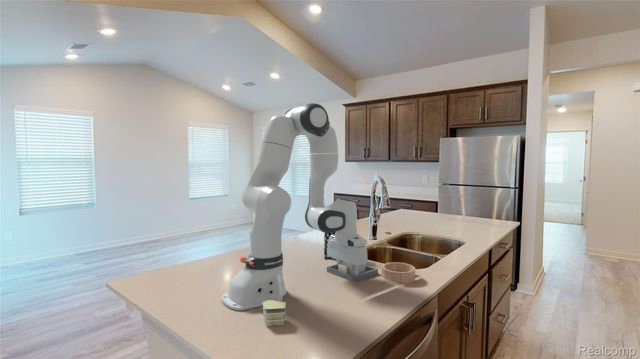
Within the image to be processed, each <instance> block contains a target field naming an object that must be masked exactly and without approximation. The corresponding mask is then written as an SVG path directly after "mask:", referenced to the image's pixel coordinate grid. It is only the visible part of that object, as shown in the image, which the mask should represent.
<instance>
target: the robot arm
mask: <svg viewBox="0 0 640 359" xmlns="http://www.w3.org/2000/svg"><path fill="white" fill-rule="evenodd" d="M297 136H306V138H307V140H308V144H309V186H308V187H309V188H308V190H309V191H308V205H307V208H306V210H305V213H304V220H305V222H306V225H307V226H308V227H310V228H311V229H313V230H316V231H319V232H322V233H323V234H324V233H332V232H335V236H334V235H331V236H330V237H329V241H328V246H327V255H328V256H329V257H332V258H335V259H334V260H336V261H335V262H336V264H338V265H339V264H342V263H343V262H347V263H350V266H351V268H350V269H348V273H349V274H351V275H352V274H354V269H355V267H356V266H359V267H362V266H365V265H367V264H368V249H367V247H366V246H367V244H368V241H367V239H366V238H364V237H362V236H361V235H360V234H359V233H358V229H357V224H358V223H357V222H358V210H357V208H358V207H357V204H356V202H355V201H354V200H352V199H348V198H342V197H339V198H336V200H335V201H334V202H332V203H331V204H329V205H327V206H326V205H325V187H326V186H325V185H326V182H327V181H328V179H329V178H330V177H332V176H333V175H334V174H335V173H336V171H337V170H338V165H339V147H338V146H339V143H338V138H337V134H336V130H335V128H334V126H333V127H332V126H331V123H330V120H329V115H328V112H327V109H326V108H325V107H324V106H323V105H321V104H318V103H308V104H300V105H298V106H294V107H293V108H290V109H289V110H287V111H285V113H284V114H283V115H282V114H281V115H280V114H279V115H273V116H272V117H271V118H270V119H269V121H268V124H267V126H266V127H265V132H264V134H263V137H262V142H261V145H260V149H259V154H258V158H257V161H256V162H257V163H256V165H255V168H254V170H253V172H252V175H251V177H250V179H249V181H248V184H247V186H246V187H245V188H244V189H243V191H242V193H241V200H242V204H243V205H244V207H246V209H247V210H248V211H249V212H251V213H253V214H254V220H253V226H252V229H251V230H250V232H249V255H248V257H246V256H241V257H240V258H239V262H241V264H242V263H243V264H245V266H244V267H243V268H242V269H241V270H240V271H239V272H238V273H237V274H236V275H235V276H233V278H232V279H231V280H230V281H229V284H228V289H227V290H228V291H227V292H226V293H223V294H222V296H221V302H222V303H223V305H224V306H226V307H227V308H229V309H231V310H234V311H235V310H236V311H245V310H248V309H249V310H250V309H254V308H258V307H263V302H265V301H267V300H273V301H281V302H284V297H285V296H286V295H287V288H286V283H285V278H284V272H283V264H284V253H283V252H282V248H283V247H282V246H283V245H282V243H283V242H282V238H283V237H282V233H283V226H284V221H285V218H286V215H287V214H288V212H289V211H290V210H291V208H292V198H291V194H289V192H288V191H286V190H285V189H284V188H282V187H280V186H279V185H280V183H281V181H282V179H283V177H284V176H285V175H286V174H287V172H288V171H289V167H290V162H291V157H292V153H293V148H294V143H295V140H296V138H297Z"/></svg>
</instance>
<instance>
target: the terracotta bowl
mask: <svg viewBox="0 0 640 359" xmlns="http://www.w3.org/2000/svg"><path fill="white" fill-rule="evenodd" d="M382 264H383V265H382V266H381V277H382V278H383V279H384V280H385V281H390V282H393V283H394V282H395V283H399V285H410V284H413V283H415V281H416V267H415V266H414V265H412V264H409V263H405V262H396V261H395V262H387V263H382Z"/></svg>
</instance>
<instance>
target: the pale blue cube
mask: <svg viewBox="0 0 640 359" xmlns="http://www.w3.org/2000/svg"><path fill="white" fill-rule="evenodd" d="M366 265H367V264H366ZM366 265H365V266H362V267H359V266H356V267H355V269H354V272H356V273H361V272H364V271H366Z"/></svg>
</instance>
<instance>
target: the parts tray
mask: <svg viewBox="0 0 640 359" xmlns="http://www.w3.org/2000/svg"><path fill="white" fill-rule="evenodd" d="M343 263H347V262H344V261H342V264H343ZM349 264H350V263H349ZM326 273H329V274H332V275H333V276H337V277H339V278H341V279H344V280H347V281H349V282H352V283H355V282H358V281H361V280H364V279H367V278H370V277H373V276H376V275H378V274H379V269H378V268H376V267H373V266H370V265H367V264H366V271H364V272H361V273H356V272H354V275H350V274H347V273H344V272H342V271H339V270H338V264H337V263H336V264H333V265H329V266H326Z"/></svg>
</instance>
